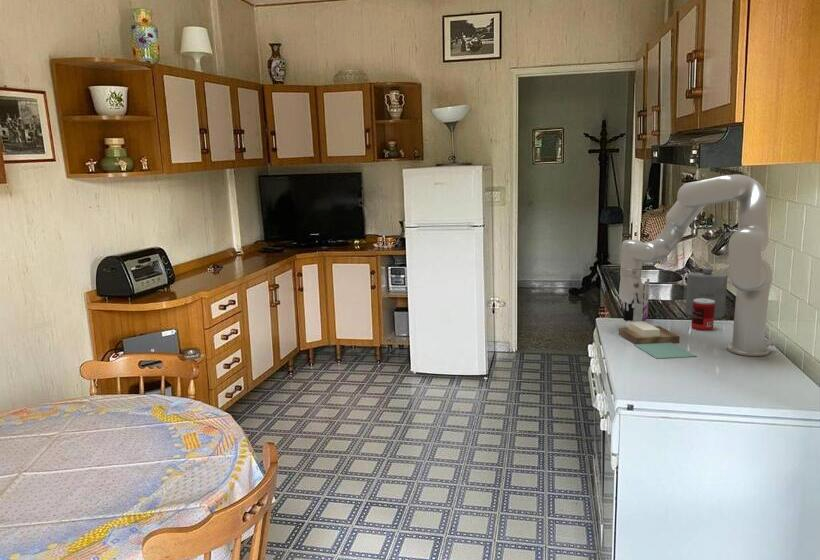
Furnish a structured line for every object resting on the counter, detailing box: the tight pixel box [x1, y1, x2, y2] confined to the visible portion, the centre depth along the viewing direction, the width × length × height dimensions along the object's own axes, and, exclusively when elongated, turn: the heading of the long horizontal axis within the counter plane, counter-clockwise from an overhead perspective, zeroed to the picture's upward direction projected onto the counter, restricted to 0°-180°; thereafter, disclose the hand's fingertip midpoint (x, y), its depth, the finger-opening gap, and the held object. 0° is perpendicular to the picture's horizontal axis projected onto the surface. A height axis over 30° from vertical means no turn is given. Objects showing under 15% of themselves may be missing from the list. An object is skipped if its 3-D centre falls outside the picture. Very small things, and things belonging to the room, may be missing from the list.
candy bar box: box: [630, 277, 650, 322], centre depth 257 cm, size 11×5×16 cm, turn 150°
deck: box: [618, 325, 681, 345], centre depth 230 cm, size 16×14×2 cm
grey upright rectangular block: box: [684, 267, 728, 319], centre depth 261 cm, size 15×6×20 cm, turn 70°
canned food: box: [691, 298, 715, 331], centre depth 243 cm, size 8×8×11 cm
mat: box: [633, 343, 697, 360], centre depth 216 cm, size 14×16×1 cm
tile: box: [627, 321, 660, 337], centre depth 230 cm, size 6×12×2 cm, turn 7°
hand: (628, 320), depth 242 cm, fingers closed
